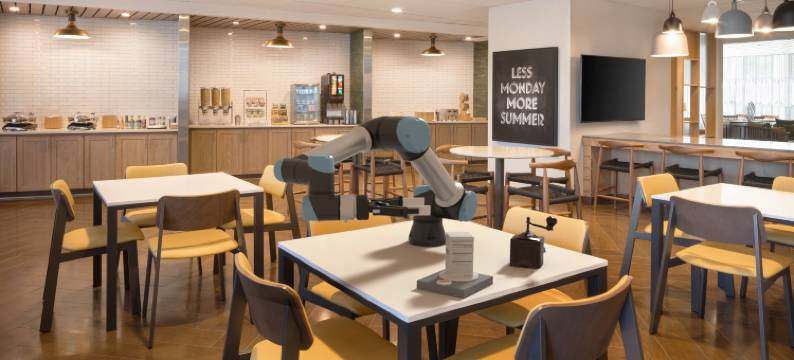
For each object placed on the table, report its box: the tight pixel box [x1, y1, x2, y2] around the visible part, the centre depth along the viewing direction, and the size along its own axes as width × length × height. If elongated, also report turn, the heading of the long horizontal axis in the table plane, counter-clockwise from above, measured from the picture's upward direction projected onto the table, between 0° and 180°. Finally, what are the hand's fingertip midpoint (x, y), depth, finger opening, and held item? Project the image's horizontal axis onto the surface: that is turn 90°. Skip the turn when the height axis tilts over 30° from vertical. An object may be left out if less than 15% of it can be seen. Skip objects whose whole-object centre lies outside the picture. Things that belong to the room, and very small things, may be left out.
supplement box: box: [444, 231, 475, 278], centre depth 189 cm, size 7×7×13 cm
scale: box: [416, 268, 494, 299], centre depth 188 cm, size 16×18×3 cm
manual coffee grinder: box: [508, 215, 558, 270], centre depth 213 cm, size 16×11×18 cm
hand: (427, 206), depth 186 cm, fingers open, 13 cm apart
